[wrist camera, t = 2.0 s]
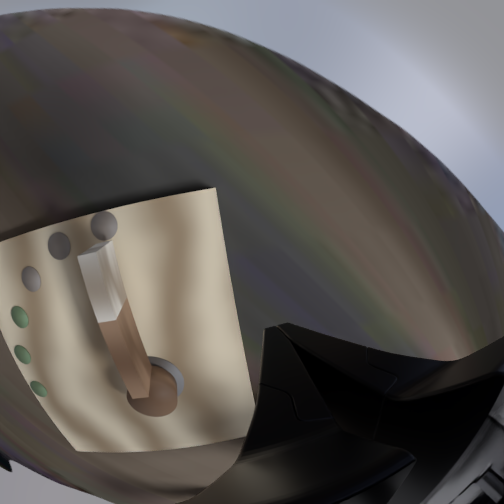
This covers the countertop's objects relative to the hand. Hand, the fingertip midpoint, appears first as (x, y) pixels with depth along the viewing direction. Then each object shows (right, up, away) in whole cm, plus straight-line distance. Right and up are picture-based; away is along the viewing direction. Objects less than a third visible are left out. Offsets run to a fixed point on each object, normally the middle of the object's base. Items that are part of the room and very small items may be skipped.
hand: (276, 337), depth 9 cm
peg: (-10, -3, +9) cm, 14 cm away
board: (-12, -6, +11) cm, 18 cm away
